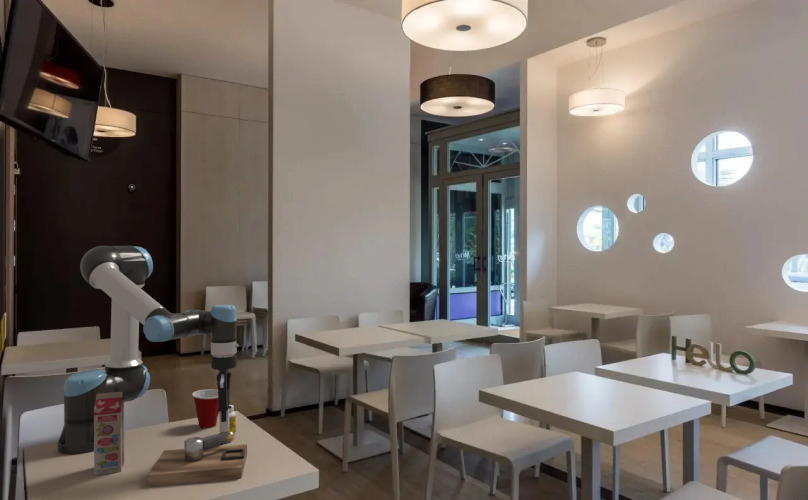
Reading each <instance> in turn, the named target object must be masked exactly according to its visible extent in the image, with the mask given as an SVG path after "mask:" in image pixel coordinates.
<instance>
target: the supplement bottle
mask: <svg viewBox="0 0 808 500" xmlns="http://www.w3.org/2000/svg"><path fill="white" fill-rule="evenodd" d="M229 406H231V408H228V409H229V431H231V432H233V433H234V435H235V436H236V434H237V418H236V417H237V414H236V412H235V411H234V410H235V409H234V408H235V407H234V404H229ZM219 433H223V432H219Z"/></svg>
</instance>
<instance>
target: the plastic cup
mask: <svg viewBox="0 0 808 500" xmlns="http://www.w3.org/2000/svg"><path fill="white" fill-rule="evenodd" d="M192 397H193V401H194V406H195V411H196V417H197V422H198V426H199V428H201V429H208V428H209V429H210V428H213V427H216V426H217V423H218V417H219V411H218V412H217V409H218V408H219V405H218V389H198V390H196V391H193V392H192Z"/></svg>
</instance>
